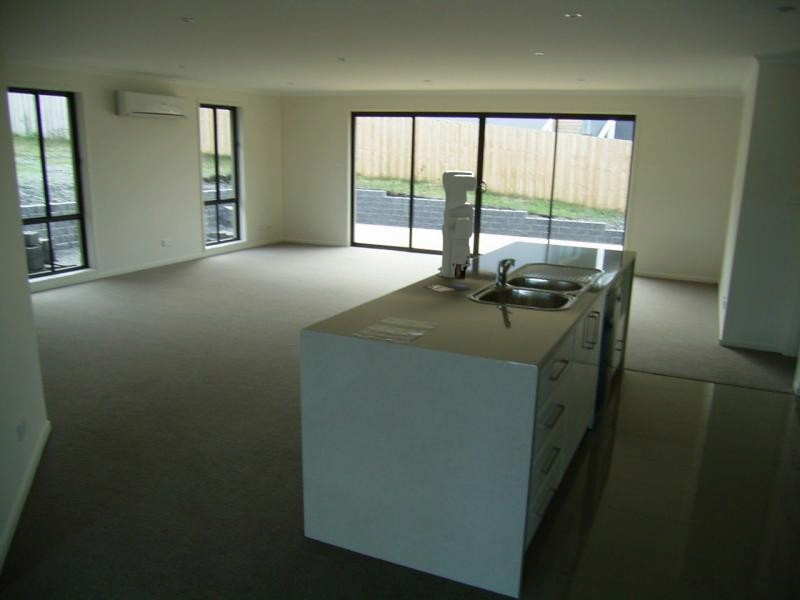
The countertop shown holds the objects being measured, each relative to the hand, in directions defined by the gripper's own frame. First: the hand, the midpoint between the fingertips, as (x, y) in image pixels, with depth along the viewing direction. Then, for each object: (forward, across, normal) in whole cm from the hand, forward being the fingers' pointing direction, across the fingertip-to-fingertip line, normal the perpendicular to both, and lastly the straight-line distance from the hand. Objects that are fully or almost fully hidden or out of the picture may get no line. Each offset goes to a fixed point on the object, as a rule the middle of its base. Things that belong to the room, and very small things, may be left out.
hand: (459, 276), depth 332 cm
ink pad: (+6, 0, 0) cm, 6 cm away
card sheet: (+6, -5, -10) cm, 13 cm away
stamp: (+1, 0, 0) cm, 1 cm away
